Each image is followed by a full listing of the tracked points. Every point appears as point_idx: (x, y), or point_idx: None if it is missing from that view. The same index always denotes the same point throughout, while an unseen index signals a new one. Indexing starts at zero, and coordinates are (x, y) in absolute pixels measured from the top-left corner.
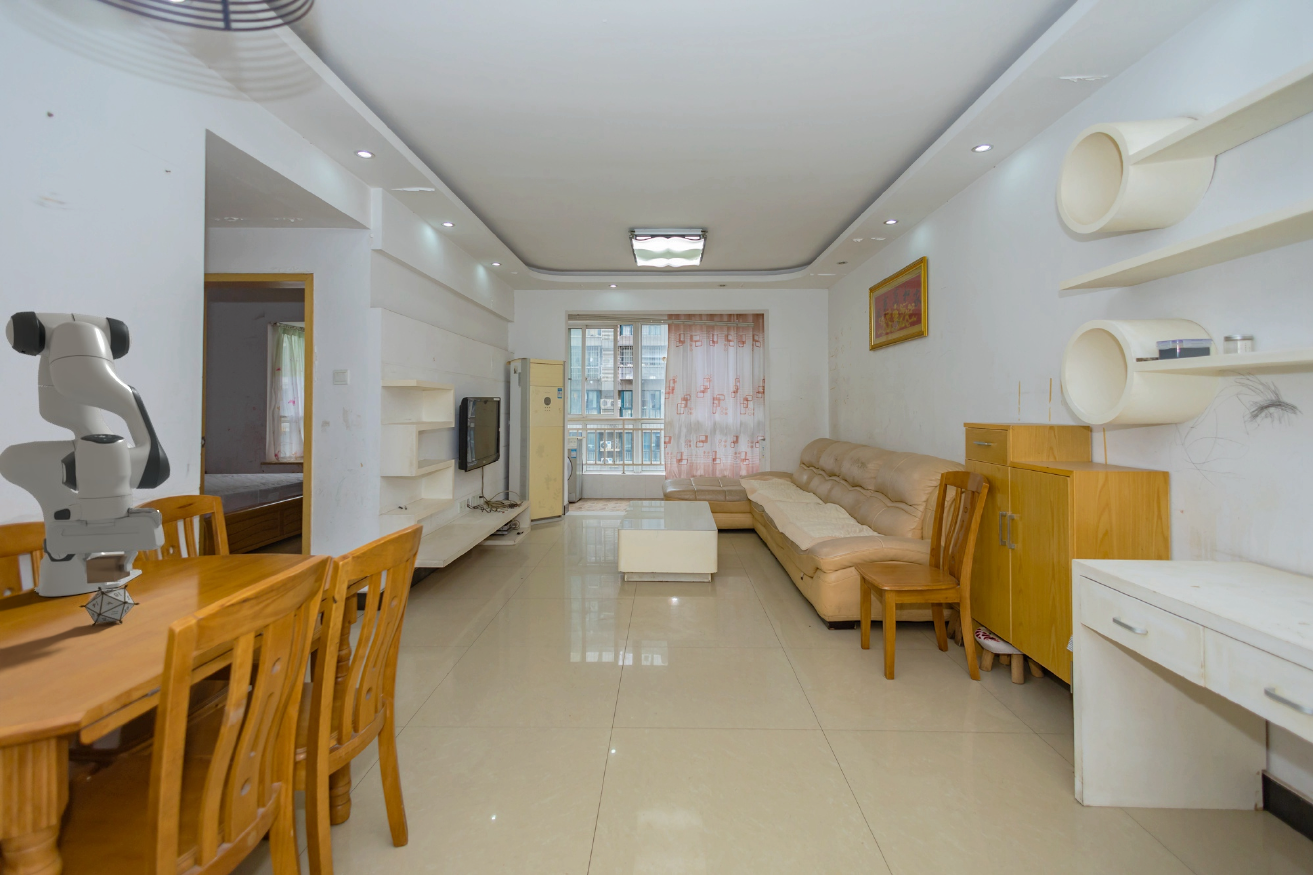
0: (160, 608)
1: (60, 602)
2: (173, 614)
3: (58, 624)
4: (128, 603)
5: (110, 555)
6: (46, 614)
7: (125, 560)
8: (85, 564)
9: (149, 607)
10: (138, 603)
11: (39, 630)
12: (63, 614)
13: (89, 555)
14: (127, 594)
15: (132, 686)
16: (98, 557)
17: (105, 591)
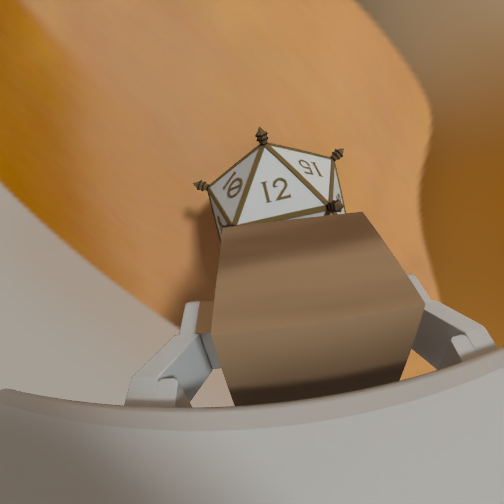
0: (334, 50)
1: None
2: (414, 130)
3: (116, 190)
4: (344, 210)
5: (308, 356)
6: (8, 115)
7: (423, 357)
8: (200, 378)
9: (282, 30)
10: (342, 155)
11: (115, 234)
12: (45, 108)
13: (187, 402)
14: (335, 200)
15: None
16: (262, 395)
17: None
